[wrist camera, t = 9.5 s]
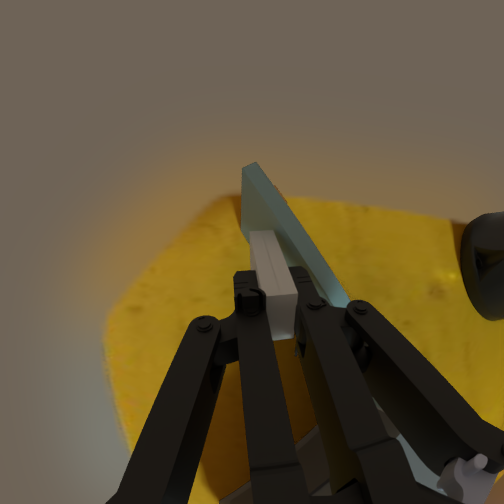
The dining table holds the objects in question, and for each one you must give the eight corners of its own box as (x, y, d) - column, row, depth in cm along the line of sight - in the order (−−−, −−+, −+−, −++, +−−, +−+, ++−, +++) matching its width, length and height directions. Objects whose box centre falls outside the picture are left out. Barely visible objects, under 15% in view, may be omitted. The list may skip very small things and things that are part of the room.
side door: (359, 379, 23) (425, 399, 12) (341, 393, 22) (400, 422, 12) (260, 220, 27) (272, 154, 17) (240, 230, 26) (242, 168, 16)
